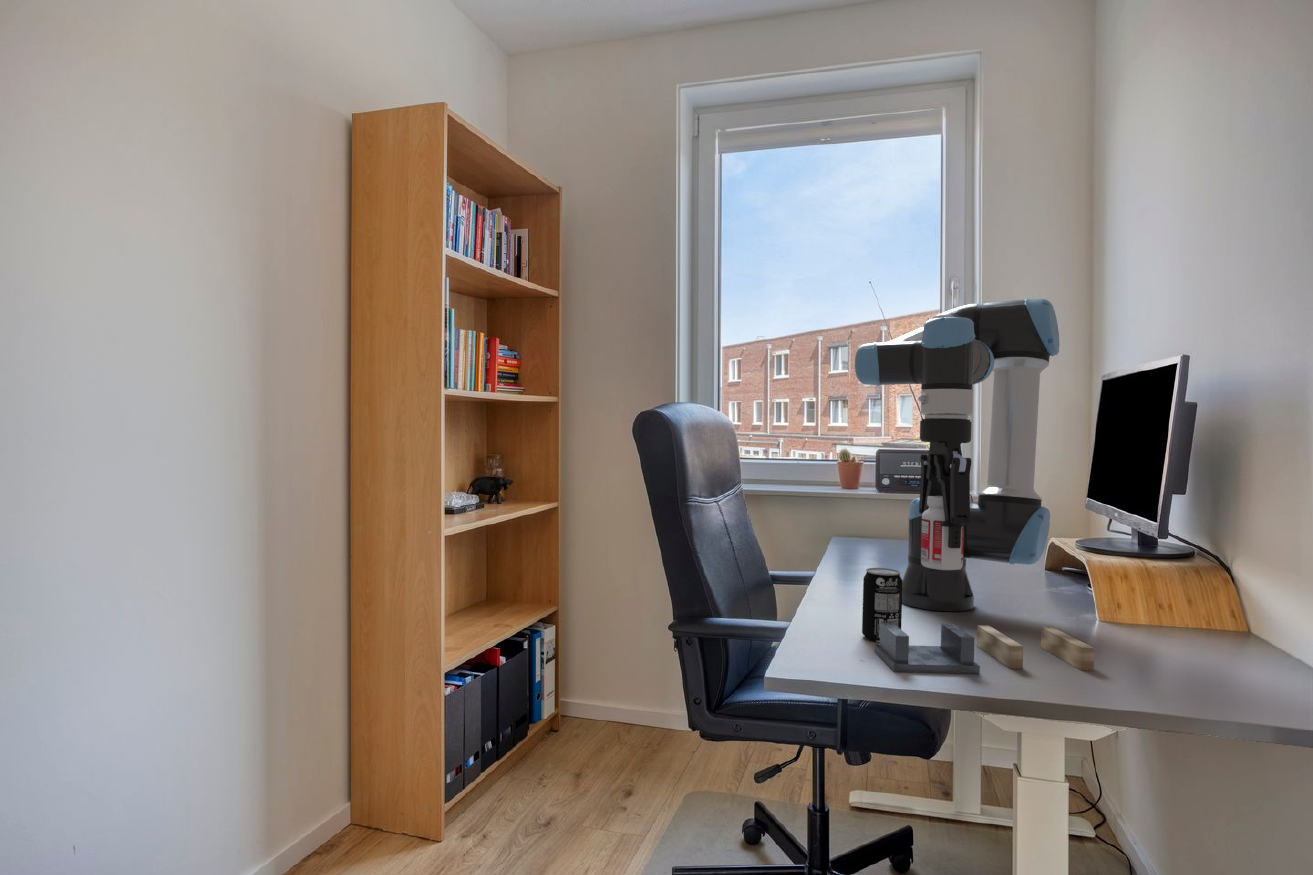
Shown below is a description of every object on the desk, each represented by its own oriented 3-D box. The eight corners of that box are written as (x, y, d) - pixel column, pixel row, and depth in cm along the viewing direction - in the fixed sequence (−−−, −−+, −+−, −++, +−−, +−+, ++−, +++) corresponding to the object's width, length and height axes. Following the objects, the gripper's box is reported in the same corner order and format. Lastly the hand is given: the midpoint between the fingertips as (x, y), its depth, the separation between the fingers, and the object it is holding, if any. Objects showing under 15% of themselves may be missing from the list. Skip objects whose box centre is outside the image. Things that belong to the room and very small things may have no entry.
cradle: (874, 651, 122) (875, 620, 122) (953, 653, 122) (954, 622, 122) (893, 671, 112) (894, 637, 112) (979, 673, 112) (980, 639, 112)
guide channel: (976, 645, 127) (977, 625, 127) (1052, 647, 127) (1053, 627, 127) (1009, 668, 115) (1010, 646, 115) (1093, 670, 115) (1094, 648, 115)
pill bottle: (970, 568, 115) (972, 497, 115) (947, 572, 111) (949, 499, 111) (935, 562, 120) (937, 494, 120) (912, 565, 117) (914, 495, 116)
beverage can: (873, 631, 134) (875, 565, 134) (907, 639, 130) (909, 571, 129) (854, 637, 130) (856, 569, 130) (889, 646, 125) (891, 575, 125)
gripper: (900, 417, 125) (896, 553, 125) (947, 416, 106) (943, 576, 106) (944, 418, 125) (940, 554, 125) (999, 417, 106) (994, 577, 106)
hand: (941, 564), depth 116 cm, fingers closed on pill bottle, 6 cm apart
